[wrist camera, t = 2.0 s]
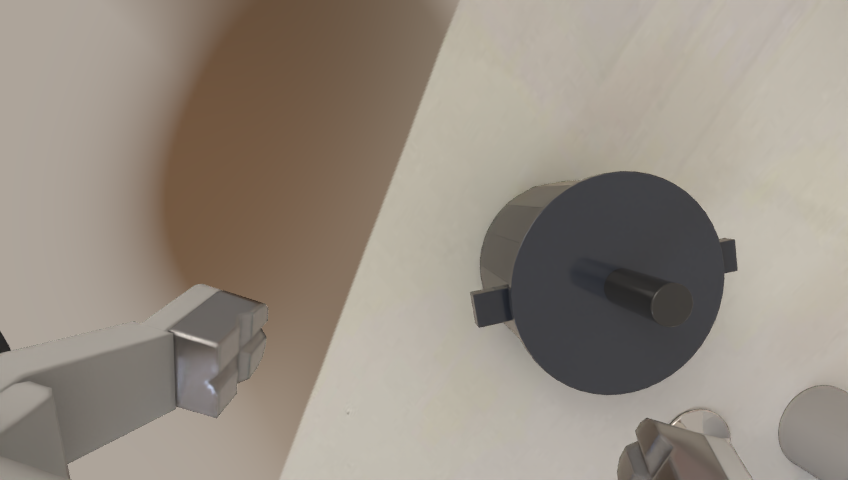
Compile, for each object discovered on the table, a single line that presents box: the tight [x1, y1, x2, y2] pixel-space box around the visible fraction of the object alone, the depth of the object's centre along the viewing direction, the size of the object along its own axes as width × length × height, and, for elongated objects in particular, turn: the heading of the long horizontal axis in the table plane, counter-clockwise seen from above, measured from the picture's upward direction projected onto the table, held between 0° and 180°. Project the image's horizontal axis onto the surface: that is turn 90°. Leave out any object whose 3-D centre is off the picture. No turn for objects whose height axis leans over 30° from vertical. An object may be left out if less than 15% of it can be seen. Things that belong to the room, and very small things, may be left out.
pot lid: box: [508, 171, 724, 395], centre depth 27 cm, size 16×16×6 cm
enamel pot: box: [470, 180, 737, 339], centre depth 34 cm, size 15×20×10 cm
